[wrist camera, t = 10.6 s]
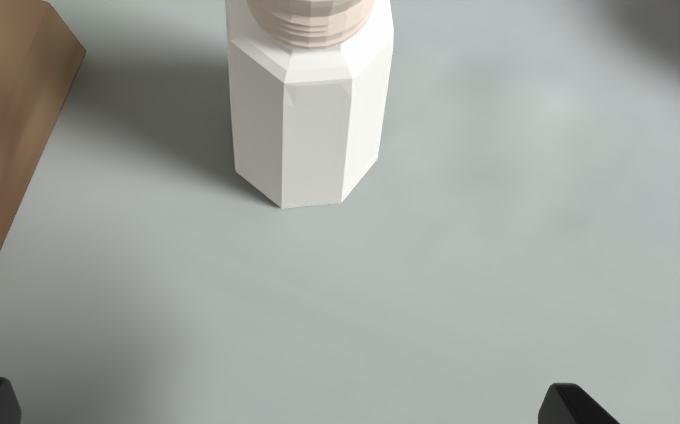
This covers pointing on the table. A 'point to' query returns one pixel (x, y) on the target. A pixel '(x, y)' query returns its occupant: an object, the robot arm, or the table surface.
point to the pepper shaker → (307, 94)
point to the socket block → (30, 92)
